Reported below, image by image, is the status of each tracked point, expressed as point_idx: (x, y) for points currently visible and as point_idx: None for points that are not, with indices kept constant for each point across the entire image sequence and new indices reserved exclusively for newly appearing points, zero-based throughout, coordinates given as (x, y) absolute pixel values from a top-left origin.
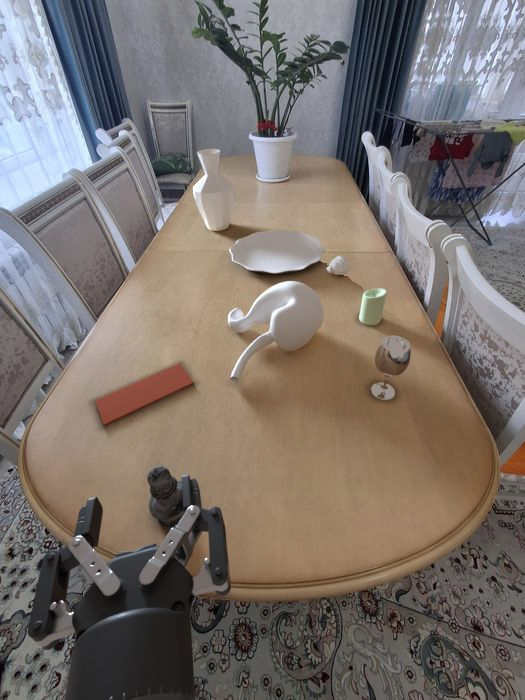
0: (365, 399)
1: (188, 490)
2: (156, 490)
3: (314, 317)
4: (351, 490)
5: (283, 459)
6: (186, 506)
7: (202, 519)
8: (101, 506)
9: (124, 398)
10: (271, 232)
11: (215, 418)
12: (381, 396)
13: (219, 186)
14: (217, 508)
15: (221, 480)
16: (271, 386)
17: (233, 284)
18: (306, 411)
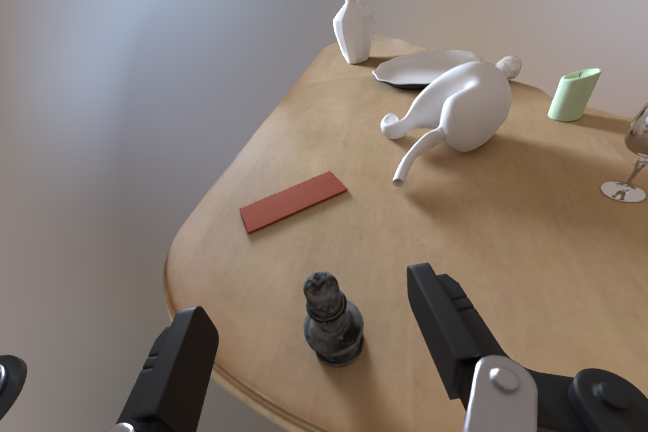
0: (596, 202)
1: (447, 303)
2: (317, 308)
3: (503, 102)
4: (627, 331)
5: (488, 278)
6: (466, 356)
7: (552, 416)
8: (215, 330)
9: (270, 206)
10: (414, 54)
11: (379, 226)
12: (624, 197)
13: (360, 11)
14: (609, 377)
15: (399, 302)
16: (447, 190)
17: (380, 100)
18: (506, 218)
